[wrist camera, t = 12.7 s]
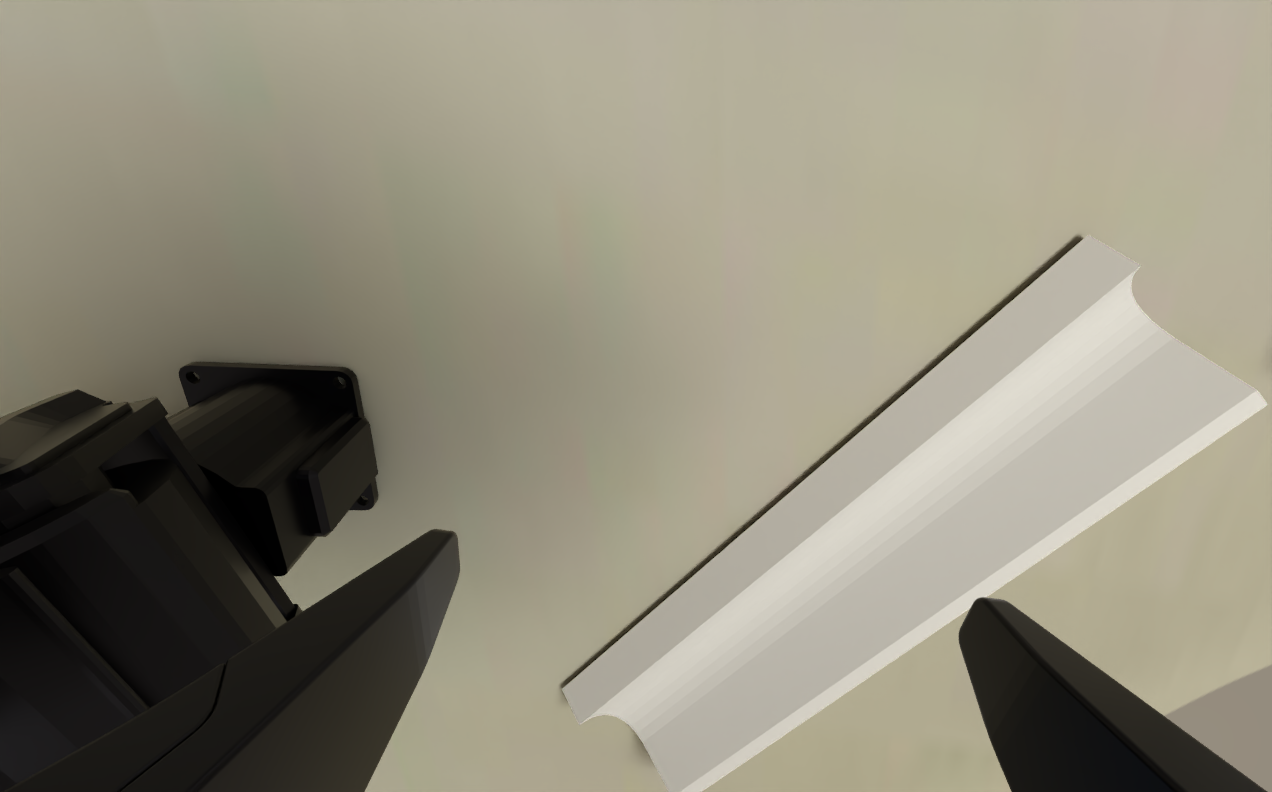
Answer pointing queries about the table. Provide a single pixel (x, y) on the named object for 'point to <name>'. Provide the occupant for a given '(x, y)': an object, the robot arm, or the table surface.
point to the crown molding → (918, 518)
